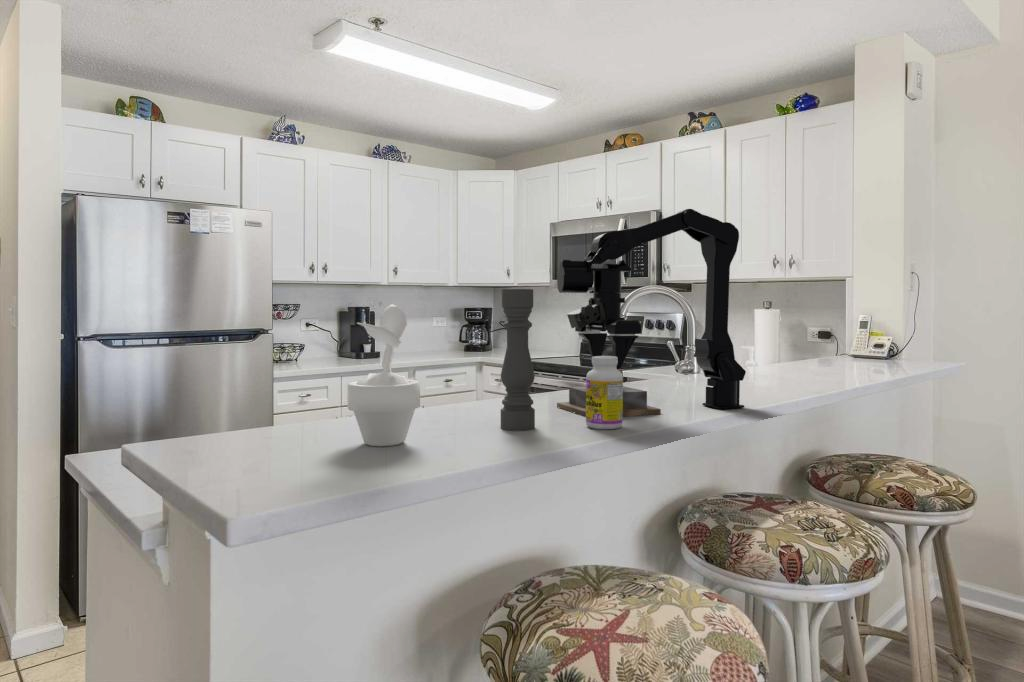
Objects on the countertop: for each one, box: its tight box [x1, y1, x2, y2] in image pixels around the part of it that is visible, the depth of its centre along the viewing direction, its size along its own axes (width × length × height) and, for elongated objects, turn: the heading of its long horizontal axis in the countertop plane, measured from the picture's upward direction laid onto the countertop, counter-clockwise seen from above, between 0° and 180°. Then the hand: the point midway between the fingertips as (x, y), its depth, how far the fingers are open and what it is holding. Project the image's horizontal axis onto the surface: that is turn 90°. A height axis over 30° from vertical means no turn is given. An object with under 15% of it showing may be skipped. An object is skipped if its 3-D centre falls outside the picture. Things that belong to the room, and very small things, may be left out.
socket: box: [556, 385, 662, 418], centre depth 139 cm, size 16×16×4 cm
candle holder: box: [500, 288, 536, 432], centre depth 119 cm, size 6×6×25 cm
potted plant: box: [346, 290, 421, 448], centre depth 104 cm, size 13×12×25 cm
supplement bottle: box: [585, 355, 624, 431], centre depth 119 cm, size 7×7×13 cm
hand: (606, 367), depth 139 cm, fingers open, 9 cm apart
